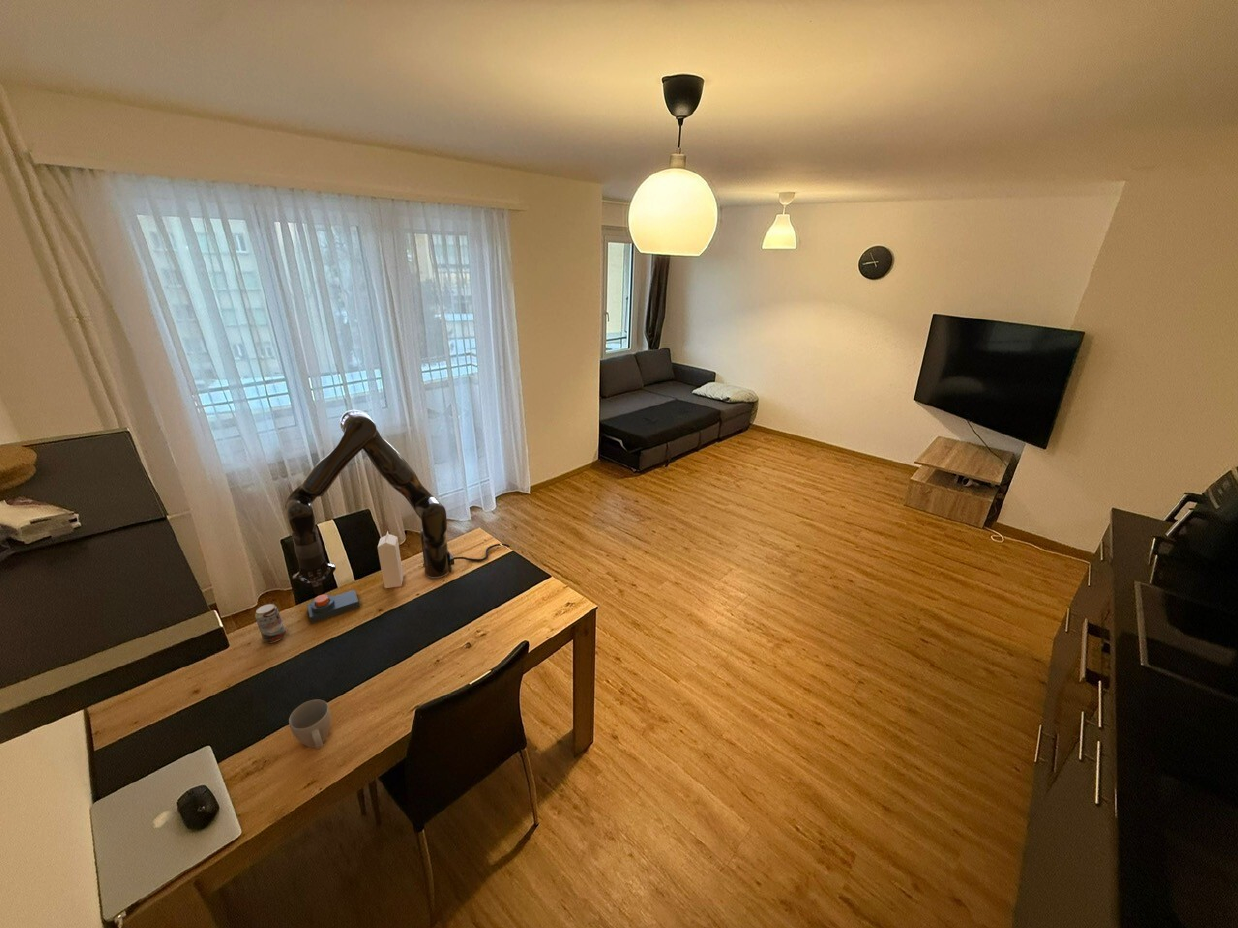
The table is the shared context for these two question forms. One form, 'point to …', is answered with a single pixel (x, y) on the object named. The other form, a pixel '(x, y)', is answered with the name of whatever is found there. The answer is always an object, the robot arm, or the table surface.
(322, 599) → the release button
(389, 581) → the milk
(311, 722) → the mug
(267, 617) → the beverage can
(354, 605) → the button base
